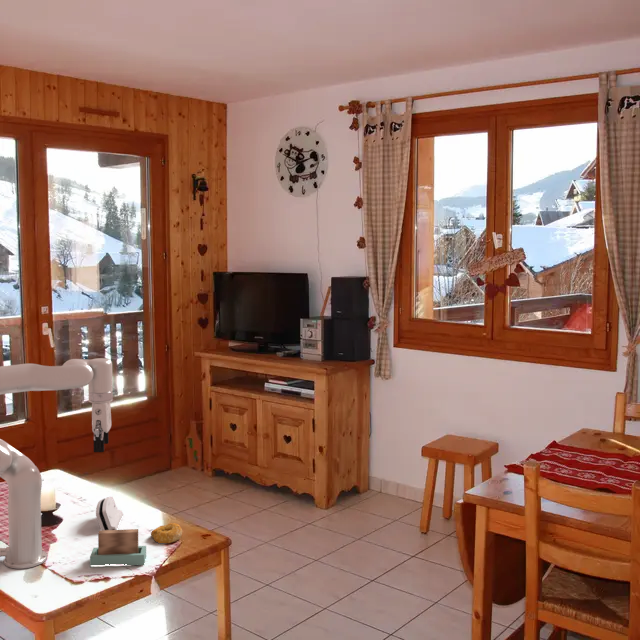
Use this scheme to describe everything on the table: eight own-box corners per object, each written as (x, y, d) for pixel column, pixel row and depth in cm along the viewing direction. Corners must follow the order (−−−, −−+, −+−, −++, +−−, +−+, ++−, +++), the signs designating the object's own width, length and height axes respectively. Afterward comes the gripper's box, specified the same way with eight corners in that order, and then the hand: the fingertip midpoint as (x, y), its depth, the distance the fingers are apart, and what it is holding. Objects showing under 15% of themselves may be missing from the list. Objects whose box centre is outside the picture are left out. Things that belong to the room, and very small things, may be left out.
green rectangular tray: (90, 567, 232) (90, 556, 231) (93, 558, 238) (93, 547, 238) (144, 565, 234) (144, 554, 233) (146, 556, 241) (146, 545, 240)
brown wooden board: (98, 561, 234) (98, 533, 233) (99, 557, 236) (99, 530, 235) (137, 559, 236) (137, 532, 235) (138, 556, 238) (138, 529, 237)
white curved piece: (116, 532, 259) (106, 506, 258) (103, 537, 259) (93, 511, 258) (123, 514, 276) (113, 490, 274) (111, 519, 275) (101, 494, 274)
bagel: (162, 530, 262) (162, 517, 261) (188, 536, 257) (188, 523, 257) (144, 541, 253) (144, 527, 252) (170, 547, 248) (170, 534, 248)
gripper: (108, 402, 235) (109, 455, 237) (116, 390, 252) (116, 440, 254) (84, 402, 234) (84, 455, 236) (93, 391, 251) (93, 440, 253)
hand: (101, 447), depth 245 cm, fingers open, 9 cm apart
